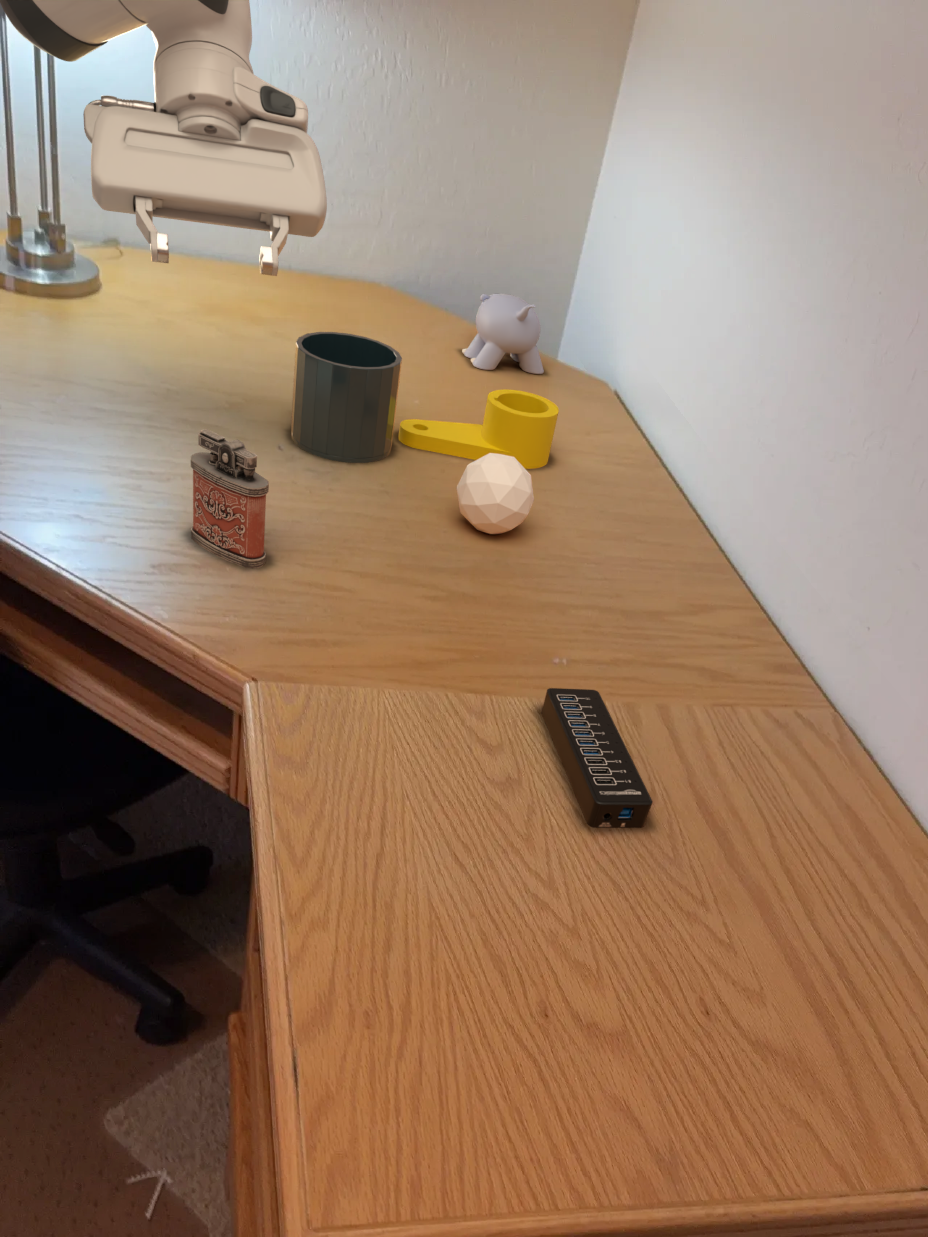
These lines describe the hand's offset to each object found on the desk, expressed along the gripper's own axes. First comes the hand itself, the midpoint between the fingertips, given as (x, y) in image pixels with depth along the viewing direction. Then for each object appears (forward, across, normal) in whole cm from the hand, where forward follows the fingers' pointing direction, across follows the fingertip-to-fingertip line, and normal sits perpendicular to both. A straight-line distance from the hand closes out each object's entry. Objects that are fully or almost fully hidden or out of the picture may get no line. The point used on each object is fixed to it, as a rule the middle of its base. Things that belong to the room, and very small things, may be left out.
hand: (215, 265), depth 94 cm
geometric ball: (+20, +27, +8) cm, 34 cm away
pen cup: (+5, +15, +22) cm, 27 cm away
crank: (+5, +31, +23) cm, 39 cm away
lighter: (+25, 0, +3) cm, 25 cm away
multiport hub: (+48, +24, -20) cm, 57 cm away
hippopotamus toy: (-19, +44, +47) cm, 67 cm away
